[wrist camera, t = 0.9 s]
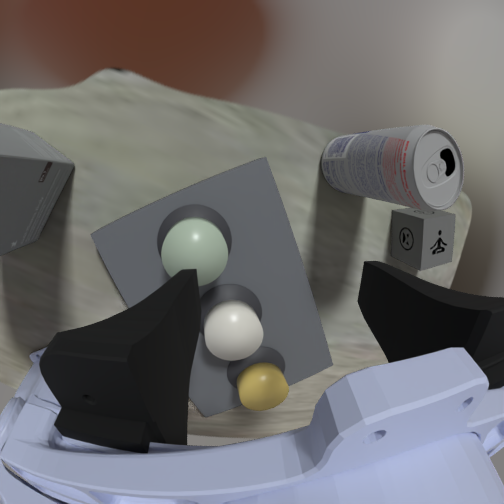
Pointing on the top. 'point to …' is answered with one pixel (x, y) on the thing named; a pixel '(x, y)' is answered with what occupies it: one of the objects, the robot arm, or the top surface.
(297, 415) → the top surface
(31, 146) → the skincare box
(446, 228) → the dice cube
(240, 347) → the ivory button
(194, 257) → the sage button
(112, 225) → the grey flat block
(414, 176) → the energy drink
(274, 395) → the mustard button
